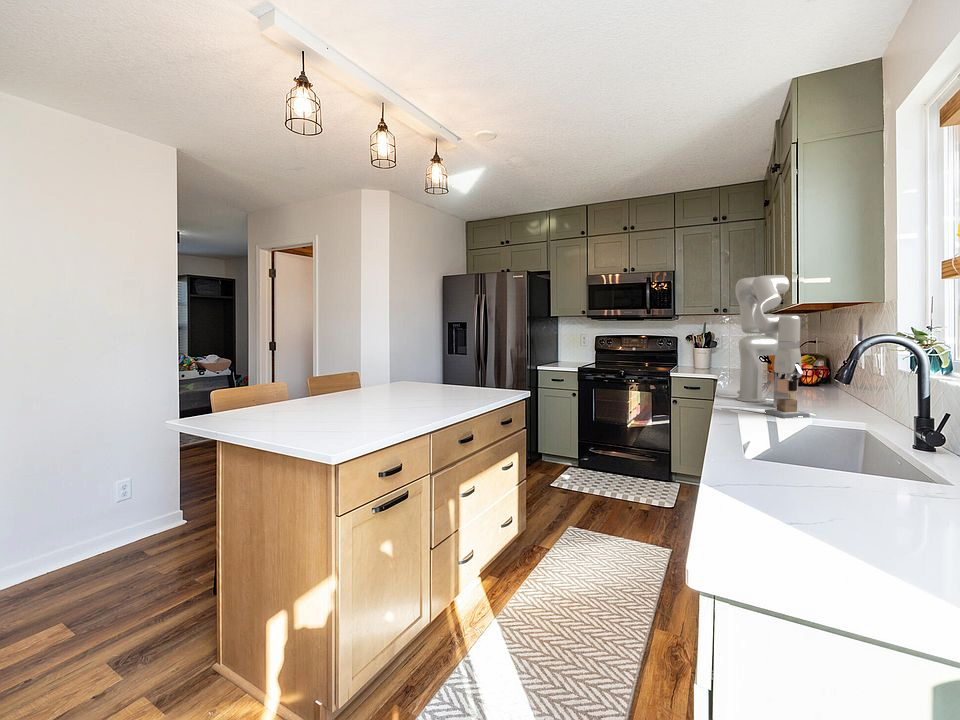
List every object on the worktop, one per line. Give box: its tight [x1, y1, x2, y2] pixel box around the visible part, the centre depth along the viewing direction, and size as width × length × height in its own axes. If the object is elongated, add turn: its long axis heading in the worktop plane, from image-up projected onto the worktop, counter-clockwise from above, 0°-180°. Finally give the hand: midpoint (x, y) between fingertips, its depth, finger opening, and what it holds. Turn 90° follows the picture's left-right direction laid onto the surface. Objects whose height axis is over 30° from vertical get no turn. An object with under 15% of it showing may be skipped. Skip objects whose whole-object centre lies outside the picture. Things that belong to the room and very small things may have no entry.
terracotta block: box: [777, 379, 799, 394], centre depth 189 cm, size 5×5×5 cm
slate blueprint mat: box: [764, 408, 811, 419], centre depth 190 cm, size 11×11×2 cm
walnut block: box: [776, 398, 798, 413], centre depth 190 cm, size 5×5×5 cm
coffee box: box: [773, 371, 797, 408], centre depth 207 cm, size 9×6×16 cm
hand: (787, 389), depth 189 cm, fingers closed on terracotta block, 5 cm apart
